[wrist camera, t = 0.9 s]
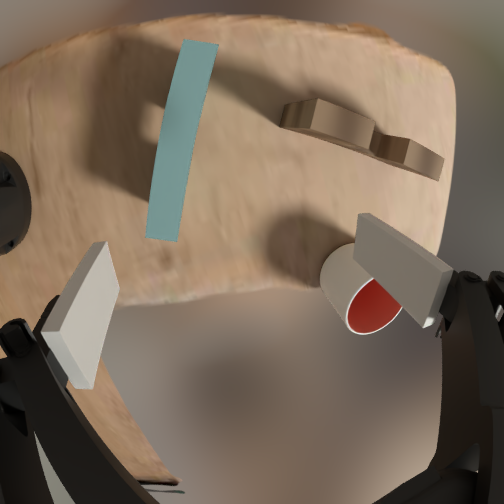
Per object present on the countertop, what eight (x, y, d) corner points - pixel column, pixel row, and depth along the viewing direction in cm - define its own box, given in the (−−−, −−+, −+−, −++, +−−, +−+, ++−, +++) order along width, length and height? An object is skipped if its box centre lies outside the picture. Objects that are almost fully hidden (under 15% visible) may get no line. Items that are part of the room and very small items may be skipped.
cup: (317, 244, 40) (350, 279, 31) (375, 236, 41) (414, 265, 32) (315, 301, 44) (340, 342, 35) (368, 289, 45) (399, 324, 37)
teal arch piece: (182, 210, 34) (177, 241, 25) (158, 207, 33) (145, 237, 24) (212, 67, 27) (218, 44, 18) (187, 63, 26) (183, 39, 18)
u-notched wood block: (279, 127, 32) (310, 128, 23) (285, 104, 31) (317, 98, 22) (391, 165, 36) (438, 181, 28) (396, 147, 35) (444, 158, 26)
